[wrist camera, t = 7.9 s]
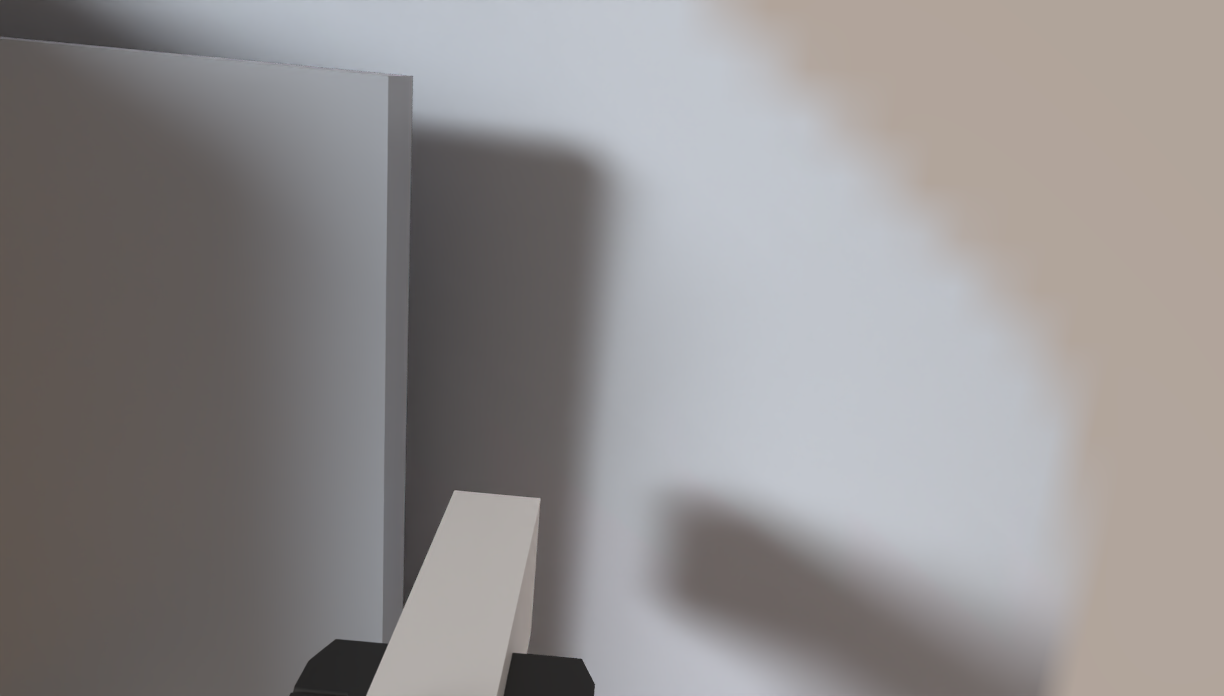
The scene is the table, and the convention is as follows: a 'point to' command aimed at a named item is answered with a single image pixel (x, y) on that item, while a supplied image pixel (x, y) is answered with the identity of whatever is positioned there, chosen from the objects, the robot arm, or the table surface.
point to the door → (198, 368)
